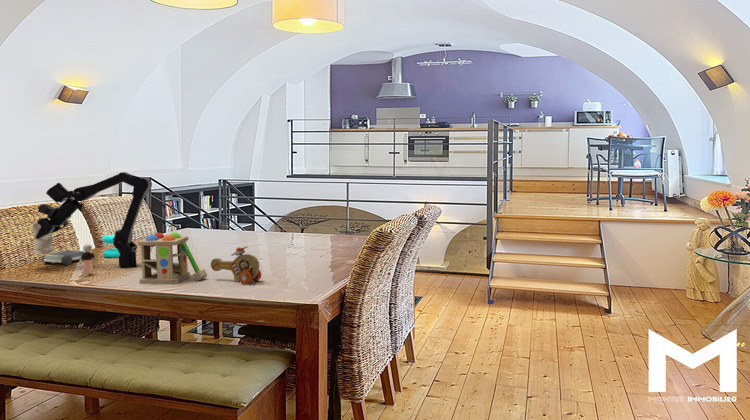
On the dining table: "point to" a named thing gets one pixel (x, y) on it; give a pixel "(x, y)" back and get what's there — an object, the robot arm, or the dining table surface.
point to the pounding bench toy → (167, 259)
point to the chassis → (63, 257)
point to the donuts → (110, 252)
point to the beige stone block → (42, 241)
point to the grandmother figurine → (87, 260)
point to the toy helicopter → (240, 266)
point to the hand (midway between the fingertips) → (39, 237)
